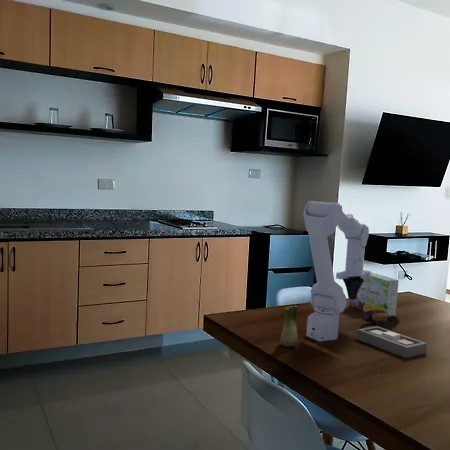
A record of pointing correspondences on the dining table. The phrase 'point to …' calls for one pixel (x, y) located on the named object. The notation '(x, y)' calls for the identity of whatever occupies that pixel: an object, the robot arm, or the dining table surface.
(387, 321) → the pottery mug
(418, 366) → the dining table surface
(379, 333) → the key
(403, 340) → the key
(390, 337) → the key mid
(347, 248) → the robot arm
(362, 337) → the grey rectangular tray
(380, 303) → the snack box
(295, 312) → the fennel bulb
